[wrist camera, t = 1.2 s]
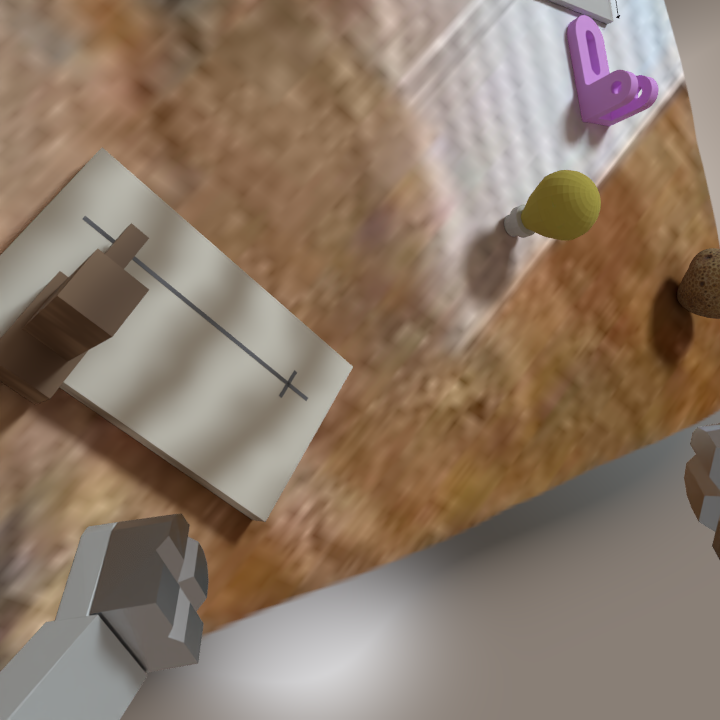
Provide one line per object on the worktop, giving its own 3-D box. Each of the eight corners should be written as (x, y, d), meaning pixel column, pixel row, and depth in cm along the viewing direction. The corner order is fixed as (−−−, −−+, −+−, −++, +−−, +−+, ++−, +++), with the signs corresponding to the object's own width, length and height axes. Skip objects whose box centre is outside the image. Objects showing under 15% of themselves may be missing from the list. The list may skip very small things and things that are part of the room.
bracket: (608, 126, 84) (660, 102, 79) (581, 121, 81) (634, 96, 75) (590, 25, 85) (641, -6, 79) (562, 17, 82) (613, -17, 76)
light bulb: (535, 261, 72) (617, 235, 64) (490, 251, 69) (572, 222, 60) (531, 201, 73) (612, 168, 65) (487, 188, 69) (568, 151, 61)
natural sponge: (656, 254, 87) (736, 233, 79) (693, 263, 92) (772, 243, 84) (663, 324, 85) (745, 309, 77) (700, 329, 91) (781, 316, 83)
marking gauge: (-24, 365, 40) (13, 327, 29) (97, 226, 45) (167, 151, 35) (35, 404, 42) (91, 382, 31) (146, 266, 47) (227, 205, 36)
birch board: (-51, 312, 40) (-48, 305, 39) (94, 158, 46) (102, 147, 45) (252, 520, 50) (265, 521, 48) (339, 369, 56) (353, 366, 54)
